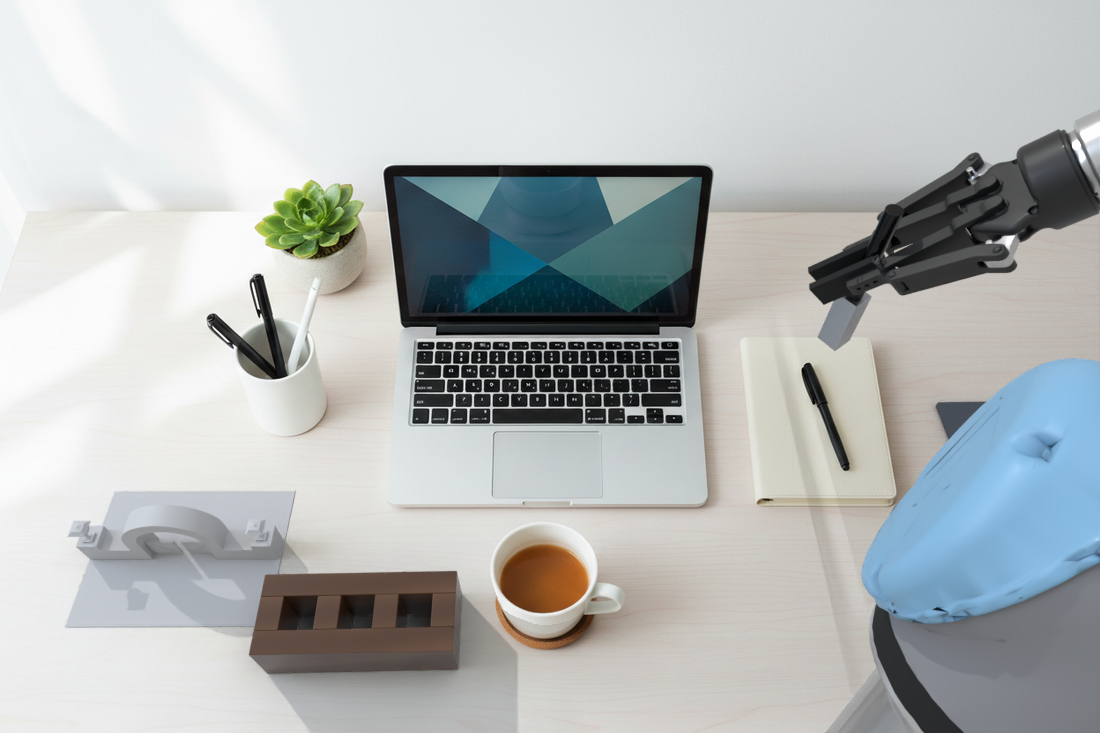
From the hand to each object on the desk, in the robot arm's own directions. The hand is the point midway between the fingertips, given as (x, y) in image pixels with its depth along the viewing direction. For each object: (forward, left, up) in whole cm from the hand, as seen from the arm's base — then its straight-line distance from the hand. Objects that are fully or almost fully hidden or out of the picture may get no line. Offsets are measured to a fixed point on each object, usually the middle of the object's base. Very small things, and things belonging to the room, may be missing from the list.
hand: (816, 285), depth 77 cm
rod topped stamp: (-1, -4, -8) cm, 9 cm away
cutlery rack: (-26, +45, -22) cm, 56 cm away
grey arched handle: (-17, +65, -22) cm, 71 cm away
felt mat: (-4, -26, -22) cm, 34 cm away
